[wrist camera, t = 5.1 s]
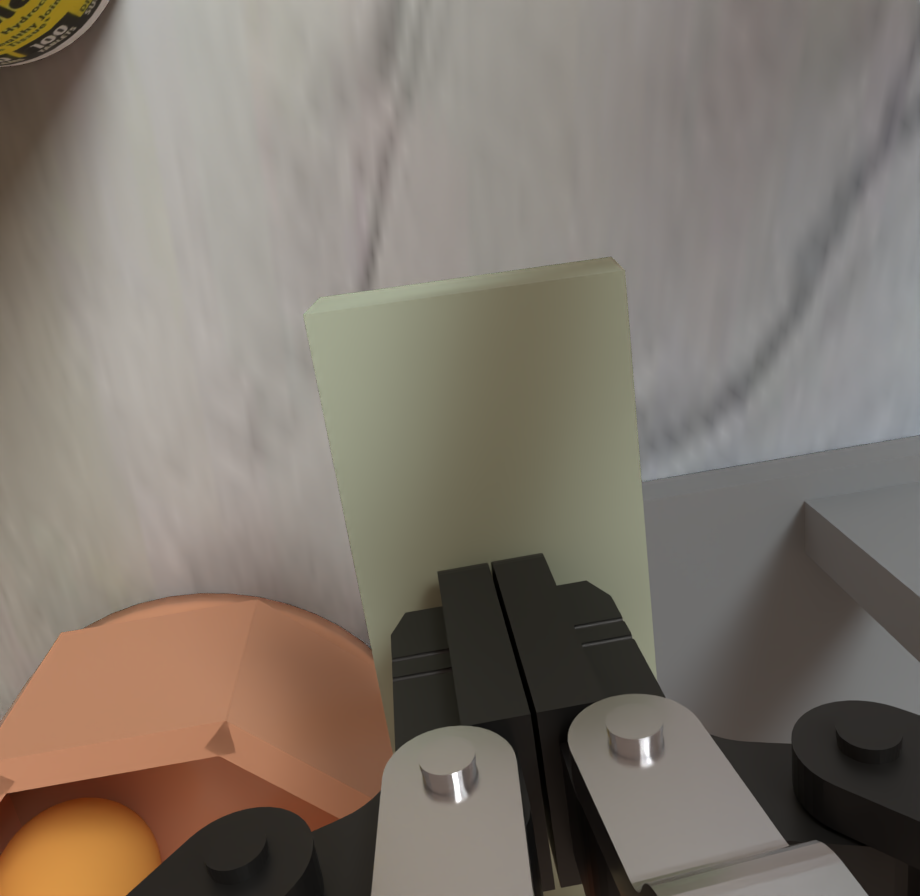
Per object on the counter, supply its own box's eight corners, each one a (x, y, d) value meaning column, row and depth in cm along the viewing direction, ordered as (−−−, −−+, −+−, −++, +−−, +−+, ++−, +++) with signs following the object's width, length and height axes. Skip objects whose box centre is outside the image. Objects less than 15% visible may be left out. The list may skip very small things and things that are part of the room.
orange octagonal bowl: (-61, 635, 23) (-204, 795, 17) (393, 558, 23) (399, 689, 18) (71, 972, 27) (-9, 1191, 21) (458, 900, 27) (479, 1096, 22)
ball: (161, 818, 21) (112, 743, 24) (-19, 917, 19) (-47, 821, 22) (201, 942, 22) (149, 856, 26) (37, 1047, 20) (3, 940, 23)
